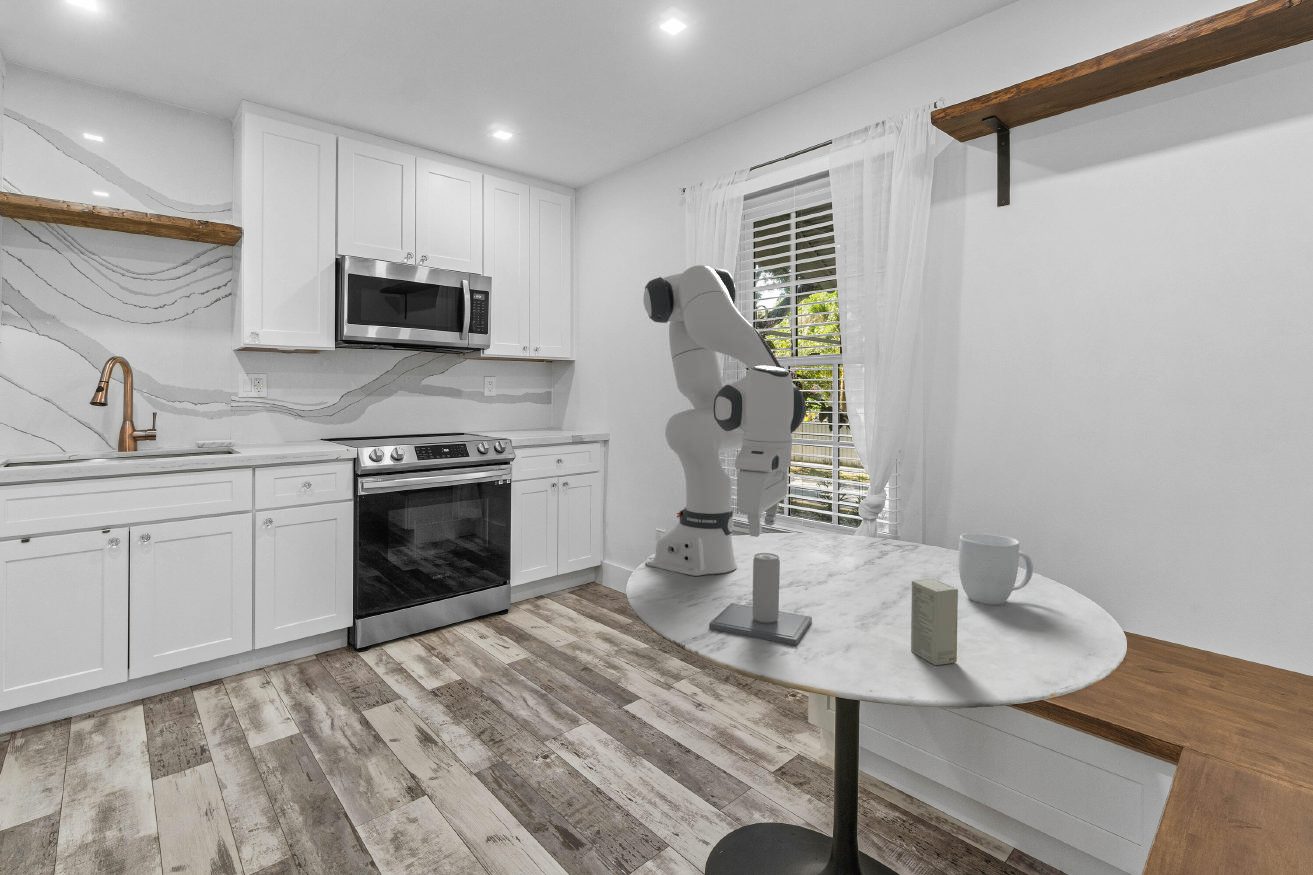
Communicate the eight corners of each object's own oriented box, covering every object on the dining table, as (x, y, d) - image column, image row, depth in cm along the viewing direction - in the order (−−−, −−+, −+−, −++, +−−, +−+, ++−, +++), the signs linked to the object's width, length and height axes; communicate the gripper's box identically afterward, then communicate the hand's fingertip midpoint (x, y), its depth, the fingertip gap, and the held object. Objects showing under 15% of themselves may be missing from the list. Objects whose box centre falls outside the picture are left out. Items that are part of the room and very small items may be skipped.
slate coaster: (709, 628, 111) (709, 622, 111) (731, 607, 122) (731, 602, 122) (796, 645, 104) (796, 639, 104) (811, 621, 115) (811, 616, 115)
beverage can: (763, 626, 110) (764, 561, 109) (746, 617, 114) (748, 554, 113) (783, 621, 112) (785, 557, 111) (766, 613, 116) (768, 551, 115)
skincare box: (957, 663, 98) (960, 589, 97) (933, 666, 97) (937, 591, 96) (930, 647, 104) (933, 577, 103) (908, 650, 103) (910, 579, 102)
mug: (1013, 591, 134) (1016, 532, 133) (1047, 609, 123) (1050, 545, 122) (946, 591, 133) (949, 532, 132) (974, 609, 123) (977, 545, 121)
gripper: (765, 448, 122) (762, 516, 123) (731, 460, 103) (728, 539, 105) (797, 451, 119) (793, 520, 120) (767, 463, 101) (764, 545, 102)
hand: (762, 529), depth 112 cm, fingers open, 8 cm apart
